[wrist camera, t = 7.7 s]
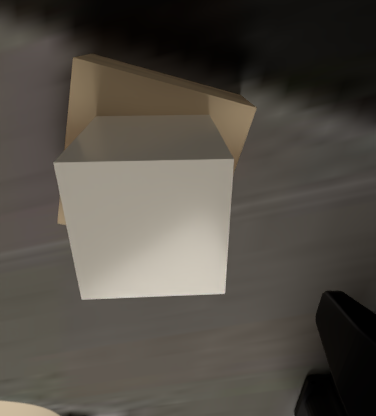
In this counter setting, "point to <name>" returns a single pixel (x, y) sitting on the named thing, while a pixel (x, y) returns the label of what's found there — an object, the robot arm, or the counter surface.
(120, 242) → the ceramic cube
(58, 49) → the counter surface
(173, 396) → the counter surface
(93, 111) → the oak block
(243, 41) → the counter surface
